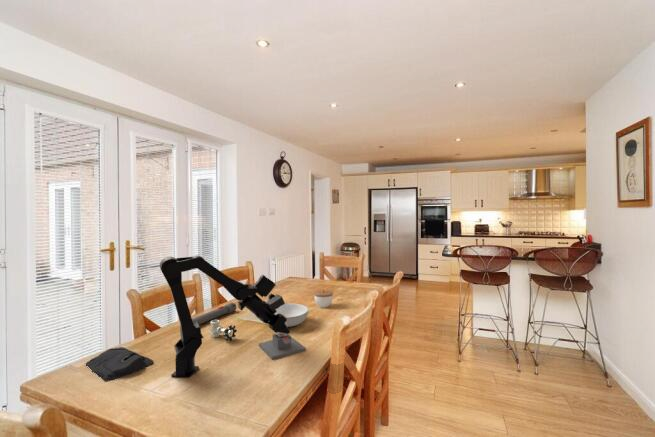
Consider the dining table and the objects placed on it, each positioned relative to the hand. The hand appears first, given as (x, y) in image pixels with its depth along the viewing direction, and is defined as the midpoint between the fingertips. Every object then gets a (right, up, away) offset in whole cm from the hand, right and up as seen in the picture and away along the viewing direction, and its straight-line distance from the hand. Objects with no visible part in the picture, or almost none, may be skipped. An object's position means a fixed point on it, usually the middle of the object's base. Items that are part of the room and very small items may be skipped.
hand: (284, 329), depth 125 cm
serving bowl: (-3, -7, +27) cm, 28 cm away
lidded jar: (+15, -6, +54) cm, 57 cm away
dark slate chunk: (-57, -9, -13) cm, 59 cm away
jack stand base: (-1, -7, -1) cm, 7 cm away
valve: (-29, -7, +10) cm, 31 cm away
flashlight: (-40, -7, +34) cm, 53 cm away
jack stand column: (-1, -6, -1) cm, 6 cm away
